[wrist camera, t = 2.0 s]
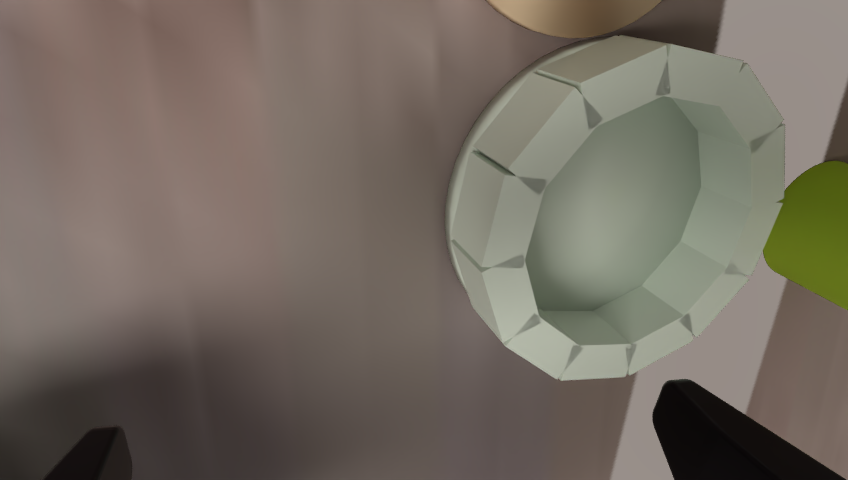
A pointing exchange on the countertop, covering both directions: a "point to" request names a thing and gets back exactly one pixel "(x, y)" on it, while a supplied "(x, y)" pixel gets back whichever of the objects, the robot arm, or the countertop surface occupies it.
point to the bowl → (614, 202)
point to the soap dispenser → (814, 232)
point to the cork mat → (573, 15)
